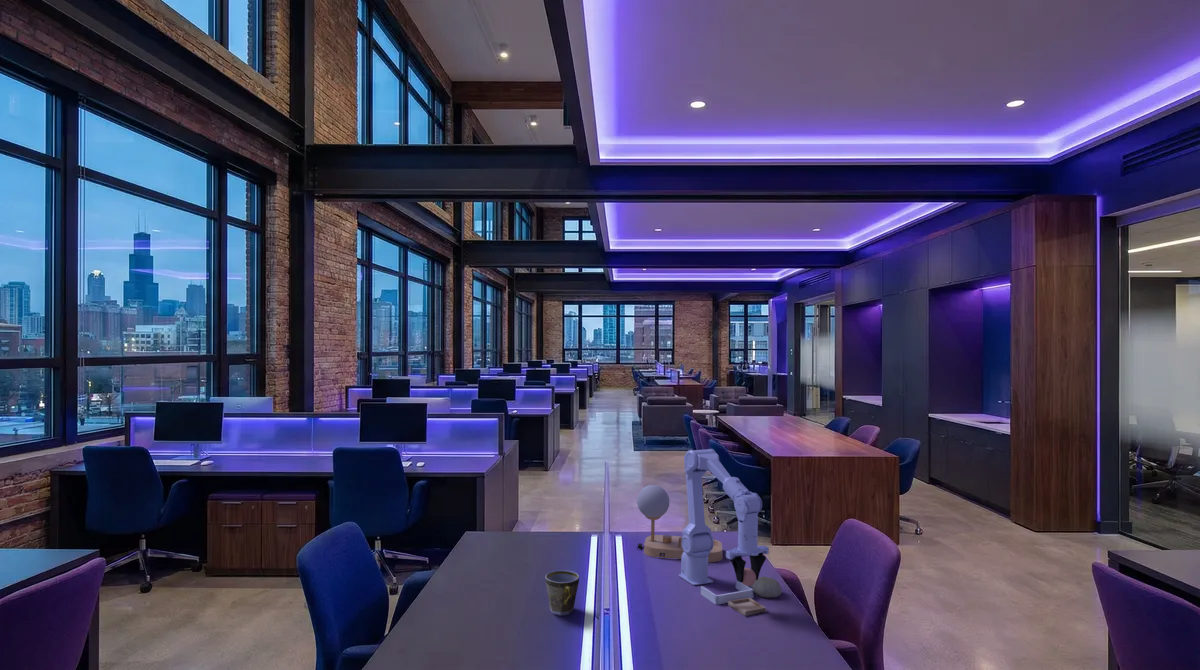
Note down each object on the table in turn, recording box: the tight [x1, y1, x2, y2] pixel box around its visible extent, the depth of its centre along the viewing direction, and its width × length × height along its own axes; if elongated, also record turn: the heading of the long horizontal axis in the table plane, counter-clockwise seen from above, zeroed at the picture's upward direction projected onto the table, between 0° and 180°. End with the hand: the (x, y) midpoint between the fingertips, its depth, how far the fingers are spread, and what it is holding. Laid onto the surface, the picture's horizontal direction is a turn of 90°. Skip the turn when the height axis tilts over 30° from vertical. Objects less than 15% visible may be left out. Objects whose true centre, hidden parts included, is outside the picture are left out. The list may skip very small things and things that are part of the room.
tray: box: [727, 598, 767, 617], centre depth 176 cm, size 8×8×1 cm
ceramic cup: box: [544, 569, 580, 616], centre depth 171 cm, size 13×10×10 cm
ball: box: [742, 567, 756, 587], centre depth 177 cm, size 5×5×5 cm
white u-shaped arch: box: [700, 579, 755, 605], centre depth 185 cm, size 8×14×2 cm, turn 114°
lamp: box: [636, 484, 723, 563], centre depth 227 cm, size 33×17×25 cm, turn 80°
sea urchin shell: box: [750, 576, 782, 599], centre depth 188 cm, size 9×8×8 cm
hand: (747, 580), depth 177 cm, fingers closed on ball, 5 cm apart
